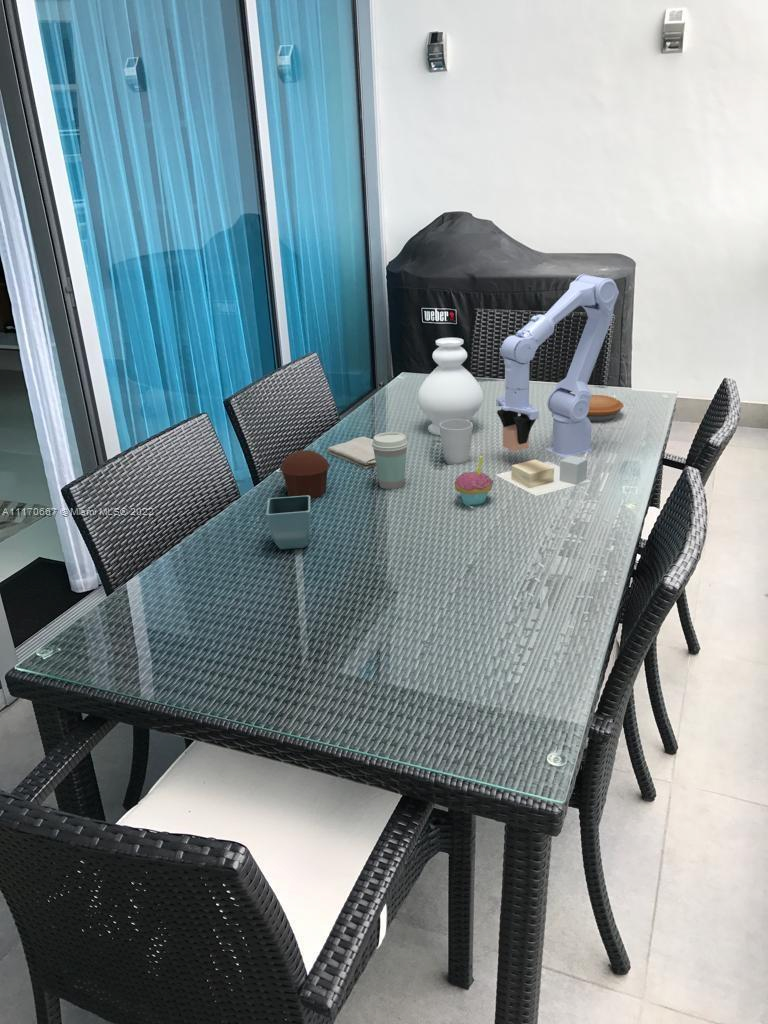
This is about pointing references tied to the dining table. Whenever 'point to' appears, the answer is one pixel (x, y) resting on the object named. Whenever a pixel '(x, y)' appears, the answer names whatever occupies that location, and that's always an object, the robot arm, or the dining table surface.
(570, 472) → the grey block
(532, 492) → the board
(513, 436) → the terracotta block
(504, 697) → the dining table surface
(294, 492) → the muffin
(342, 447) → the washcloth
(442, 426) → the cup
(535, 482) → the maple block
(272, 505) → the flower pot
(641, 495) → the dining table surface
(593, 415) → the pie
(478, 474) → the cupcake
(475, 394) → the decorative vase
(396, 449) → the coffee cup
